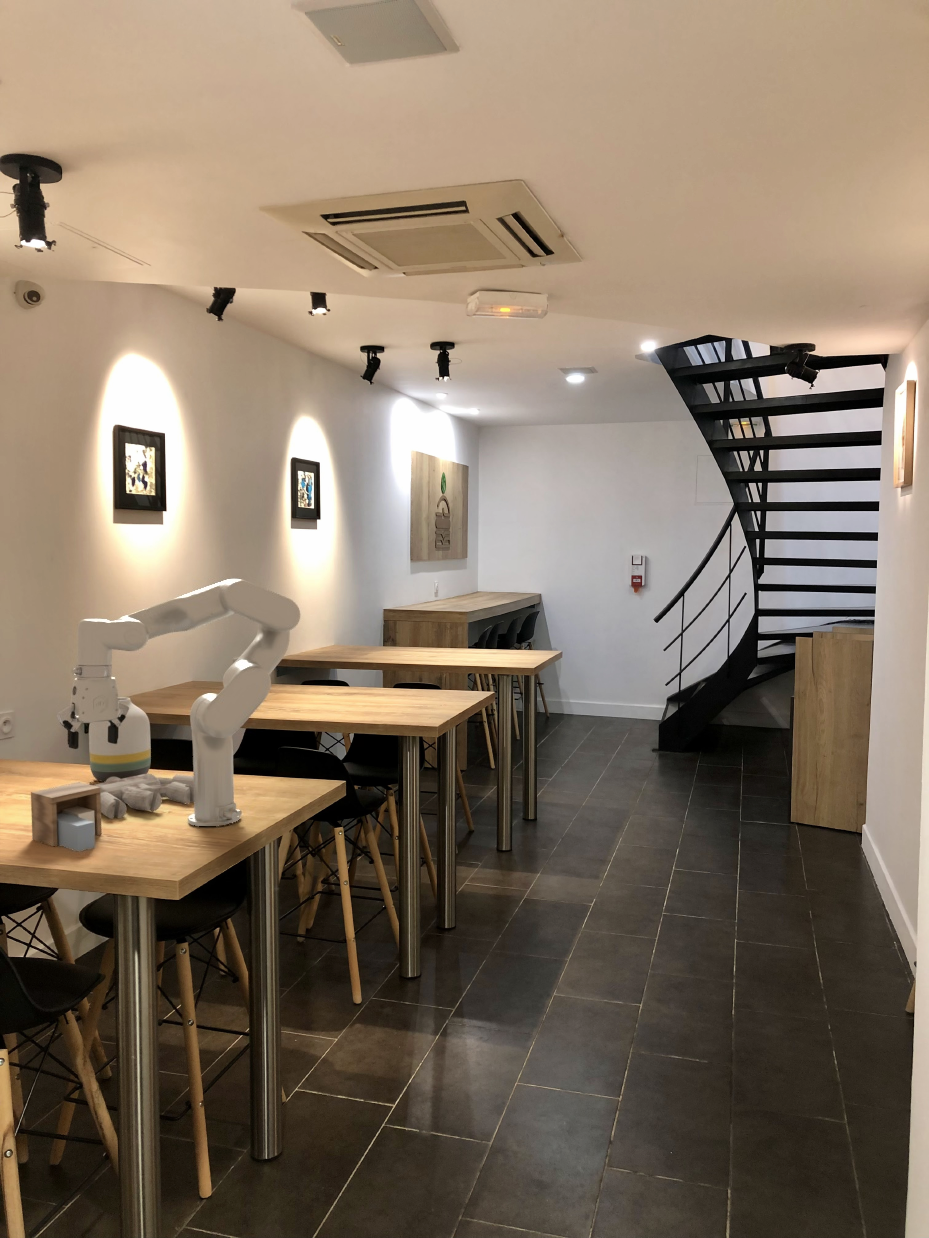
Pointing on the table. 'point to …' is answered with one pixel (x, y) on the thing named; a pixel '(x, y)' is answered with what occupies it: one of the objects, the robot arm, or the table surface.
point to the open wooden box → (61, 808)
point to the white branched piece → (143, 792)
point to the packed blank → (81, 813)
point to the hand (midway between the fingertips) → (93, 745)
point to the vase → (121, 746)
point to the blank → (75, 832)
